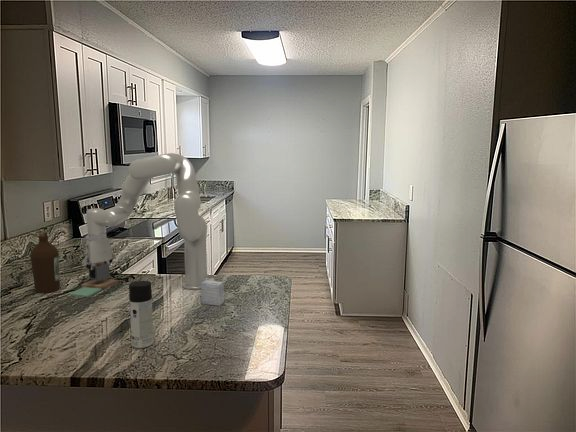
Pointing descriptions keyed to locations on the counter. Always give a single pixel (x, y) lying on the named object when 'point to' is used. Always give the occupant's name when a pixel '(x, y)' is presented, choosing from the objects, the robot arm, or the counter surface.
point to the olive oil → (45, 265)
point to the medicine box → (212, 292)
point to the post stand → (100, 283)
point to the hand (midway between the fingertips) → (99, 275)
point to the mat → (85, 292)
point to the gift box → (101, 271)
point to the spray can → (141, 314)
